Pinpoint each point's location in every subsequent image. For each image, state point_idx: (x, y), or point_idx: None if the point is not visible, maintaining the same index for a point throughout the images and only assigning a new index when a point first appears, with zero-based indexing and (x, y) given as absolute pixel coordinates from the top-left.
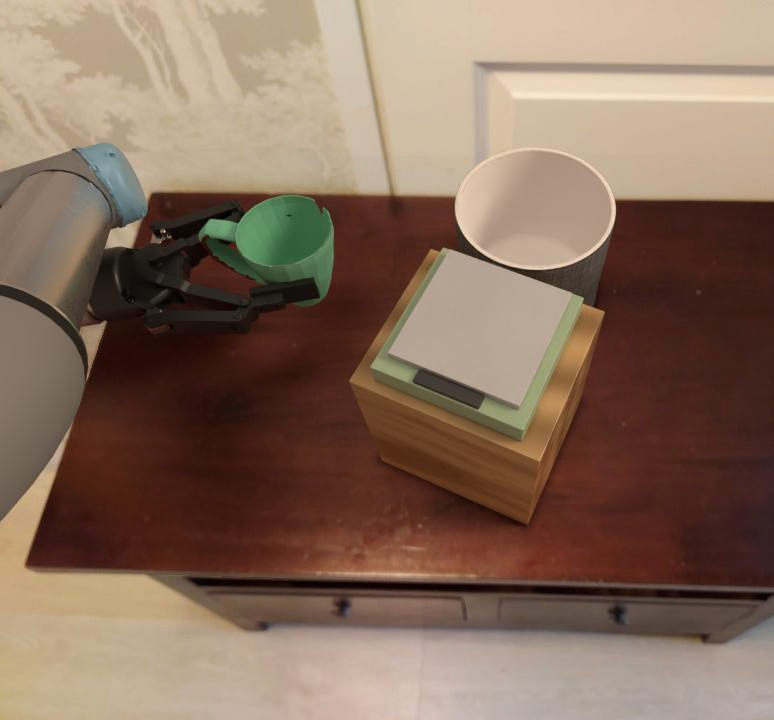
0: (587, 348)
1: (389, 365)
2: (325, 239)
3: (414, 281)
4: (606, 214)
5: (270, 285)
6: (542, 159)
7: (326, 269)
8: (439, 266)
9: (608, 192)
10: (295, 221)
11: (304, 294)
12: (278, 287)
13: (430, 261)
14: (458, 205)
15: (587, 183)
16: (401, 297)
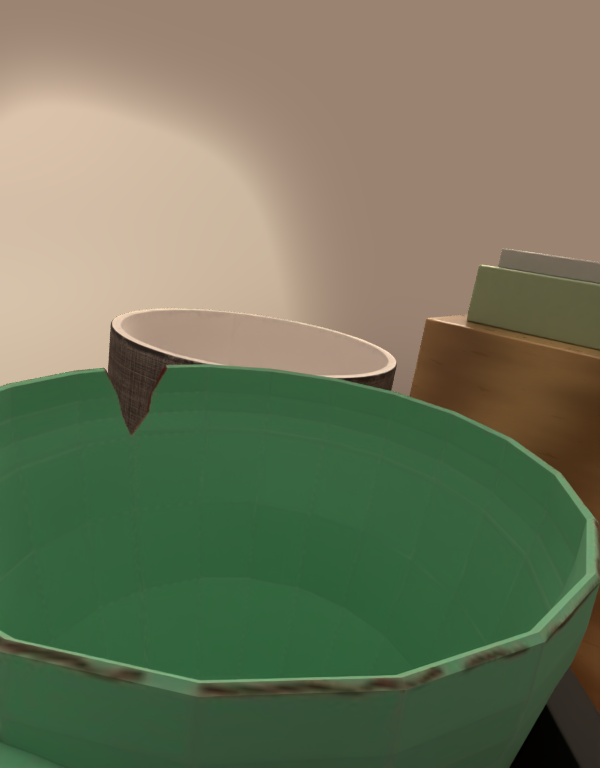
0: None
1: None
2: (163, 557)
3: (533, 340)
4: (272, 349)
5: (571, 731)
6: (144, 331)
7: (359, 563)
8: (555, 257)
9: (263, 316)
10: (1, 584)
11: None
12: (571, 690)
13: (465, 324)
14: (214, 363)
15: (209, 340)
16: (595, 355)
